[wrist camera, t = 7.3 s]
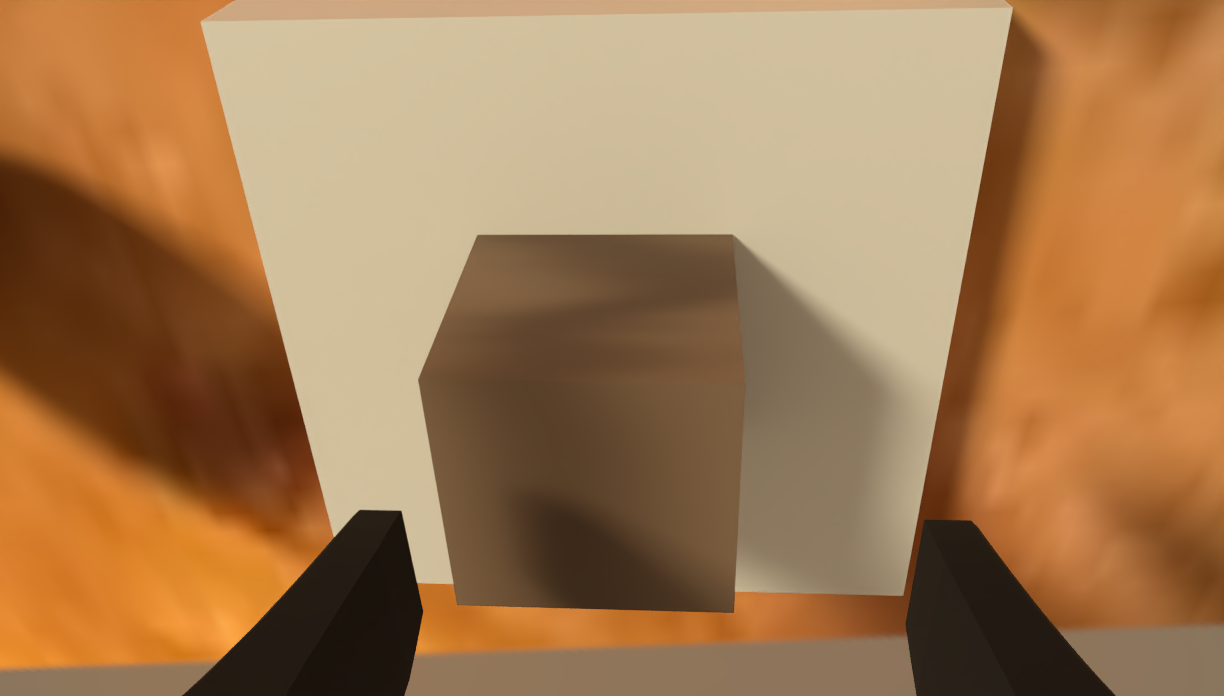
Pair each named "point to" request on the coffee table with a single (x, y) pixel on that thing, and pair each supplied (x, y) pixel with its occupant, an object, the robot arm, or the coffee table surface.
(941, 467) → the coffee table surface
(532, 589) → the walnut block
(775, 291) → the base board
